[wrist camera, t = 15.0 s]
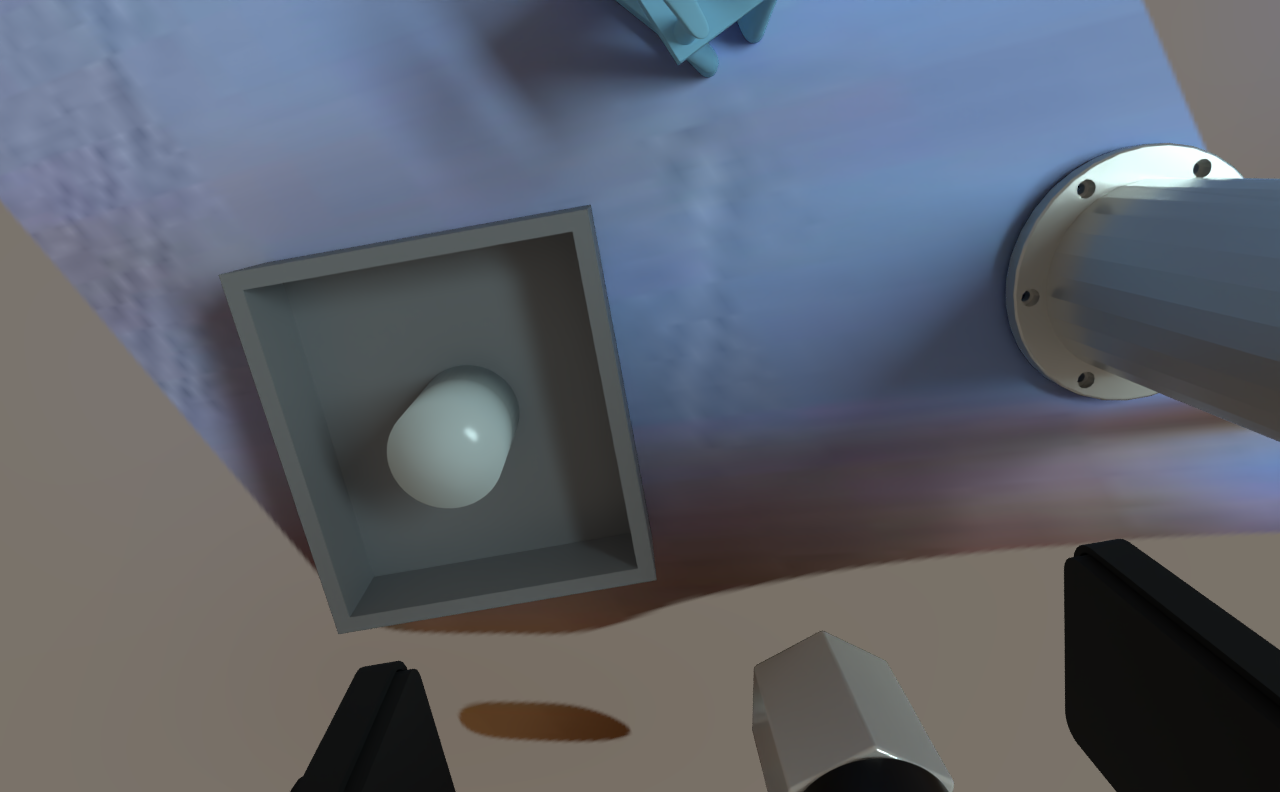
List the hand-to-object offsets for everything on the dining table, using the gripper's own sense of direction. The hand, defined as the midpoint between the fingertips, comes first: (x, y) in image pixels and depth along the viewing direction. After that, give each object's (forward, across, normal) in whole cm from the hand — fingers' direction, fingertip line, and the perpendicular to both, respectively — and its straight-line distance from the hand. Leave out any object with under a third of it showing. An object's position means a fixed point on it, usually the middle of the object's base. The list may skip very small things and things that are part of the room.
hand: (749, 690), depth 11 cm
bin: (+28, +10, +3) cm, 30 cm away
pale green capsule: (+28, +10, +3) cm, 30 cm away
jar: (+28, -6, +24) cm, 38 cm away
